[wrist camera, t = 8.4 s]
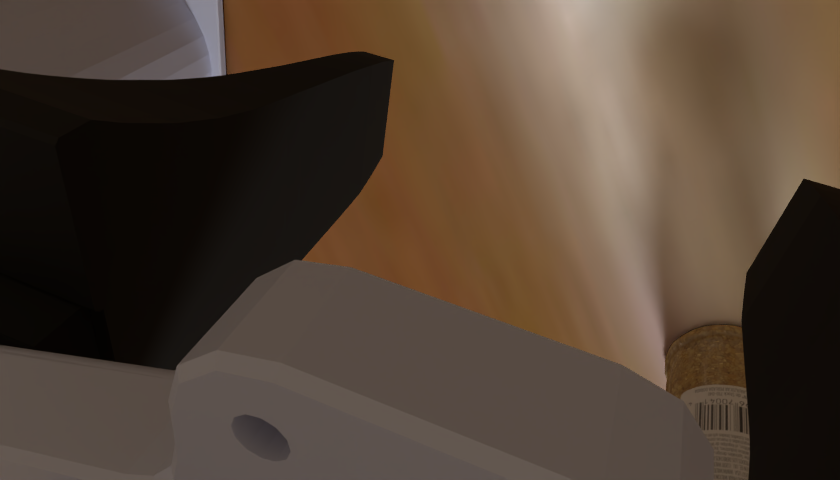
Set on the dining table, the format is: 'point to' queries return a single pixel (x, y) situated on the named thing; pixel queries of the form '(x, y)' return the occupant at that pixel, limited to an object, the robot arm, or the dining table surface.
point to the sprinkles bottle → (714, 392)
